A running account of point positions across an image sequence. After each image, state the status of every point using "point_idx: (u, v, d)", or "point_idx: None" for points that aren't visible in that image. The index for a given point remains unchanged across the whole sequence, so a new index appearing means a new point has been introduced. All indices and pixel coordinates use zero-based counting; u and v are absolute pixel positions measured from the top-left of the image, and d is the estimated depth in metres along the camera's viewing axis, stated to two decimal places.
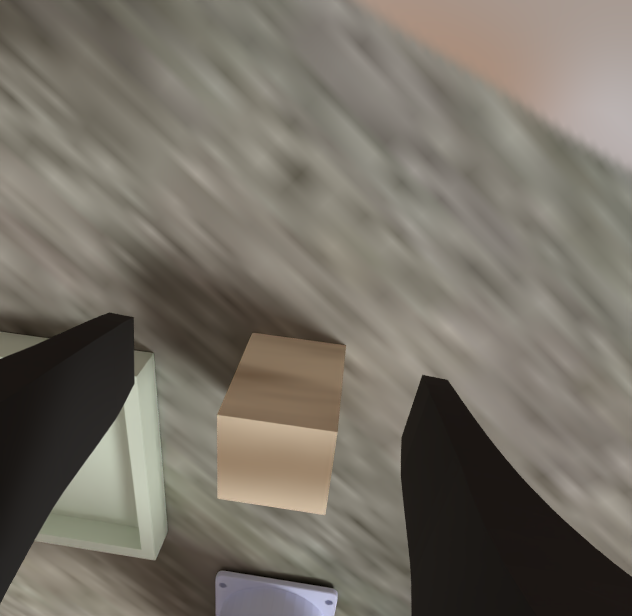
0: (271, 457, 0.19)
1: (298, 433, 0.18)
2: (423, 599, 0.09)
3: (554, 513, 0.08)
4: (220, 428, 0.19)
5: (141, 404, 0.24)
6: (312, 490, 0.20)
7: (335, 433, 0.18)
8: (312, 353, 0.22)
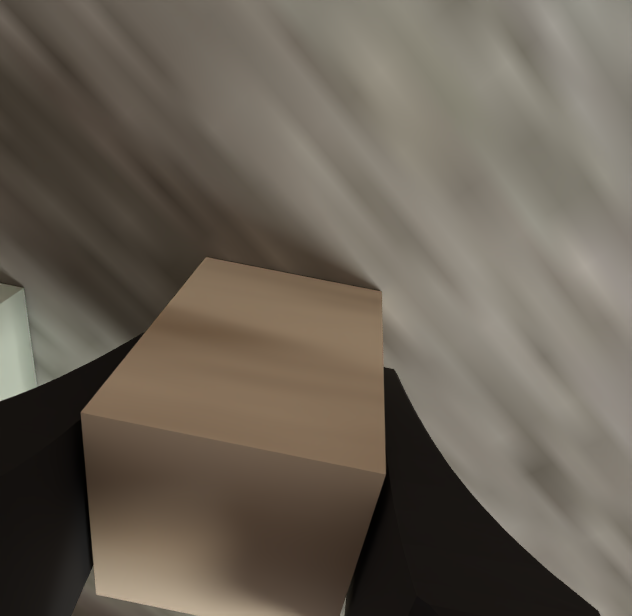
0: (217, 520, 0.08)
1: (284, 470, 0.07)
2: (353, 584, 0.09)
3: (473, 496, 0.08)
4: (91, 446, 0.07)
5: None
6: (307, 596, 0.09)
7: (380, 476, 0.07)
8: (319, 300, 0.11)
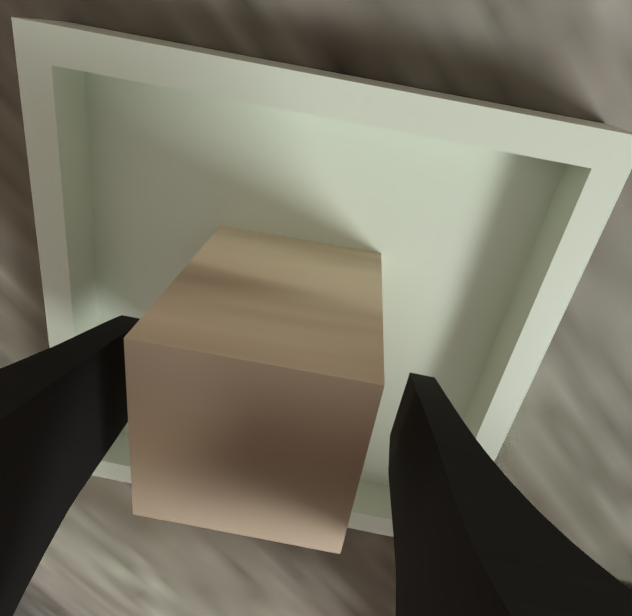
0: (240, 436, 0.09)
1: (297, 385, 0.08)
2: (407, 596, 0.09)
3: (535, 509, 0.08)
4: (132, 369, 0.09)
5: None
6: (319, 507, 0.10)
7: (379, 388, 0.08)
8: (324, 259, 0.13)
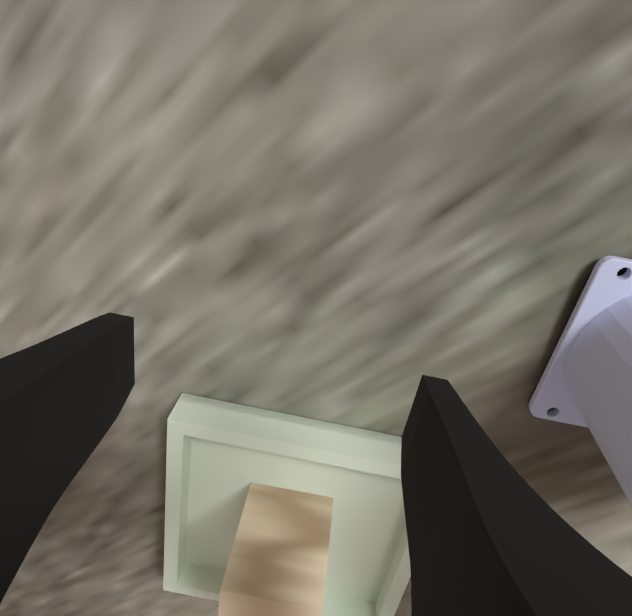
0: None
1: (225, 610, 0.22)
2: (423, 599, 0.09)
3: (555, 513, 0.08)
4: None
5: (206, 423, 0.23)
6: (291, 613, 0.22)
7: (221, 591, 0.21)
8: None
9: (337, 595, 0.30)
